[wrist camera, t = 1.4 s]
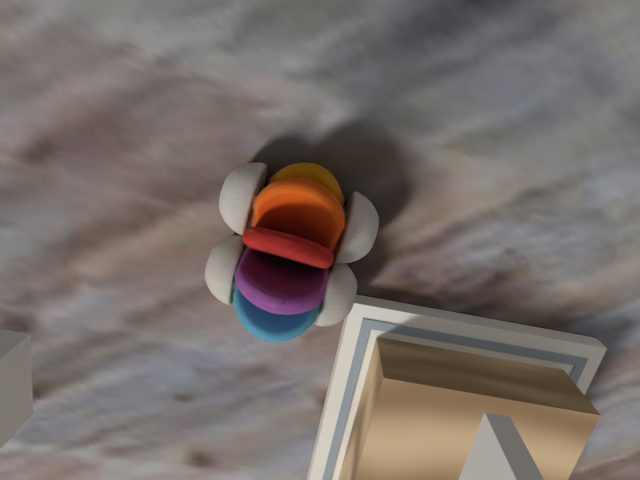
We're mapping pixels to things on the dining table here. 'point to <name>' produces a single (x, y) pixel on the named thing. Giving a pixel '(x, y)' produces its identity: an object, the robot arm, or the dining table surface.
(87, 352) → the dining table surface
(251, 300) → the rainbow fan toy
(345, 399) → the build board
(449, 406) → the oak plinth
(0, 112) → the dining table surface
